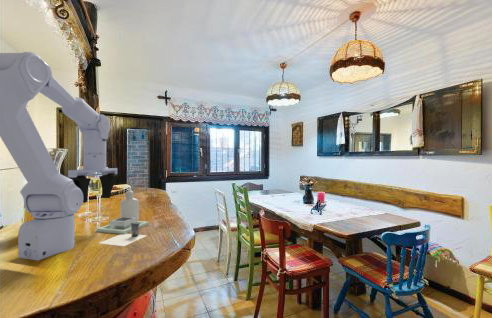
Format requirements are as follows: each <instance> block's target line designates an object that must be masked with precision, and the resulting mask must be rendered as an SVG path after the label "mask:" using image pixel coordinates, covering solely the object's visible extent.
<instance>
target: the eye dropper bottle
mask: <svg viewBox="0 0 492 318" xmlns="http://www.w3.org/2000/svg"><path fill="white" fill-rule="evenodd" d="M127 188H128V190H127V191H126V192H125V198H124V199H122V200H121V201H120V217H137V218H138V220H139V219H140V203H139V202H140V200H139V199H138V198H135V197H134V191H133V190H132V188H131V187H127Z"/></svg>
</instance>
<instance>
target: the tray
mask: <svg viewBox="0 0 492 318" xmlns="http://www.w3.org/2000/svg"><path fill="white" fill-rule="evenodd" d="M138 223H140V225H139V229H142V228H144V227H146V226H148V225H149V224H150V223H149V221H143V220H142V221H140V220H138ZM96 232H98V233H106V234H107V233H109V234H117V235H120V234H130V233H132V230H131V228H128V229H125V230H120V229H110V227H109V224H107V225H104V226H100V227H97V228H96Z"/></svg>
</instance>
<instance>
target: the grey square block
mask: <svg viewBox="0 0 492 318" xmlns="http://www.w3.org/2000/svg"><path fill="white" fill-rule="evenodd" d="M108 221H109V222H108V223H109V224H108V225H109V227H110V228H109V229H120V230H125V229H128V228H131V223H138V221H139V219H138V218H137V217H121V216H120V217H118V218H113V219H111V220H108Z"/></svg>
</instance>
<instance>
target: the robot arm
mask: <svg viewBox="0 0 492 318" xmlns="http://www.w3.org/2000/svg"><path fill="white" fill-rule="evenodd" d="M39 93H40V94H42V95H43V96H44V97H46V98H48V99H49V100H50V101H52V102H54V103H55V104H57V105H59V106H60V107H61V112H62V113H63V115H65V117H66V116H67V117H68V118H69V119H70V120H72V121H73V122H75V124H76V125H77V127H78V129H79V131H80V132H81V133H83V134H82V137H83V138H82V139H83V142H82V144H83V145H82V147H83V151H82V152H83V158H82V159H83V161H82V162H83V164H82V165H83V168H82V169H68V170H67V171H68V172H67V173H68V174H67V176H65V175H63V174H62V173H60V172H59V170H58V169H57V166H56V165H55V163H54V160H53V158H52V156H51V154H50V153H49V151H48V149H47V147H46V145H45V143H44V140H43V139H42V137H41V135H40V133H39V131H38V129H37V127H36V125H35V122H34V121H33V119H32V117H31V114H30V113H29V111H28V109H27V105H28V103H29V101H32V100H33V99H34V98H35V97H36V96H37V95H38V94H39ZM110 130H111V123H110V119H109V118H108V116H106V115H105V114H103V113H98V112H97V111H96V110H95V109H94V108H92V107H91V106H90V105H89V104H88V103H87V102H86V101H85V99H83V98H82V97H77V96H75V97H74V96H72V95H71V94H70V93H69V91H67V89H66V88H65V87H64V86H63V85H62V84H60V82H59V81H58V80H57V79H56V78H55V77H54V76H53V72H52V69H51V66H50V65H49V64H48V63H46V62H45V61H44V60H43V58H42V57H41V56H39V55H38V54H37V53H35V52H31V51H24V52H0V139H1V140H2V142H3V144H4V146H5V147H6V148H7V150H8V152H9V154H10V156H11V157H12V159H13V161H14V162H15V164H16V165H17V167H18V169H19V171H20V172H21V173H22V175H23V177H24V179H25V180H26V184H24V186H23V187H22V188H21V189H20V195H21V196H22V198H23V207H24V208H25V210H26V211H27V213H28V212H29V213H31V217H34V219H33V220H31V221H28V220H27V221H25V222H23V223H22V224H21V225H20V226H19V229H18V235H17V239H18V241H17V242H18V243H17V246H18V249H17V250H18V256H17V257H18V258H19V259H26V260H32V261H40V260H43V259H46V258H48V257H52V256H55V255H58V254H60V253H65V252H67V251H70V250H72V249H73V248H74V247H75V214H78V211H79V210H80V209H81V207H82V205H83V203H84V204H85V203H88V199H89V186H90V183H91V180H92V179H91V178H90V177H93V176H95V177H96V176H98V177H99V181H100V184H101V195H102V198H103V199H110V198H111V194H112V190H113V188H114V185H115V183H116V181H117V179H118V178H119V175H118V167H116V168H115V167H114V168H113V167H112V168H110V167H108V168H107V140H108V139H109V133H110Z"/></svg>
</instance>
